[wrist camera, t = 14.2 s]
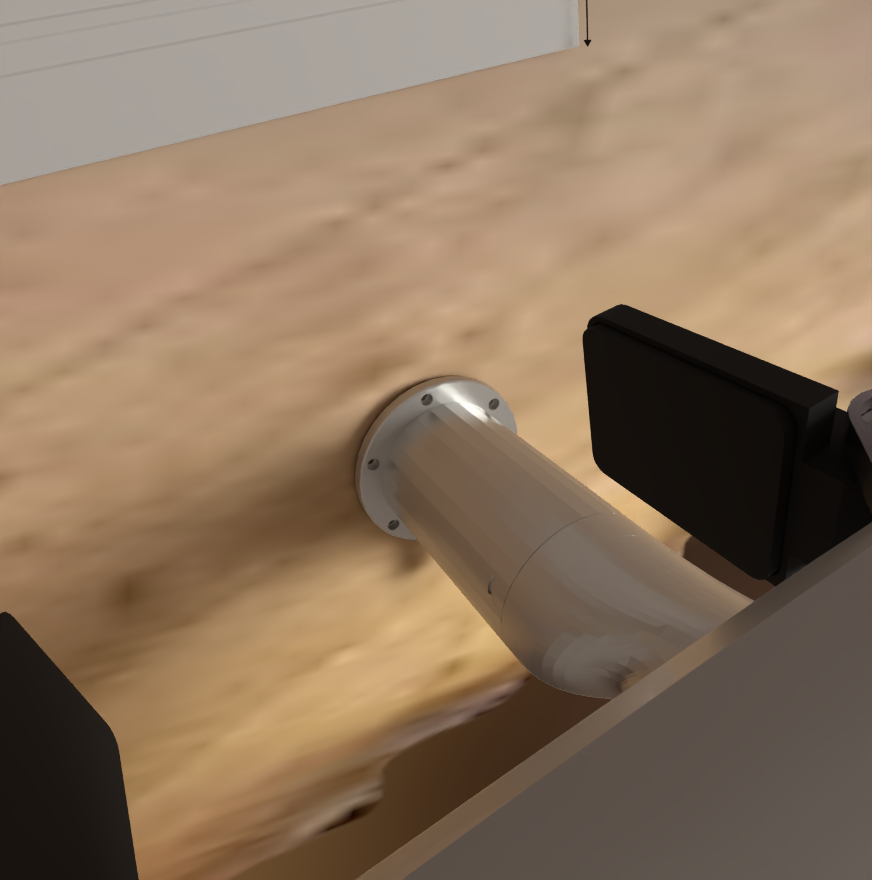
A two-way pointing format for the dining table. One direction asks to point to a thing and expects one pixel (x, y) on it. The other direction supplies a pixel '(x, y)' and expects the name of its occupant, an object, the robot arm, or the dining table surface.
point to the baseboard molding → (231, 64)
